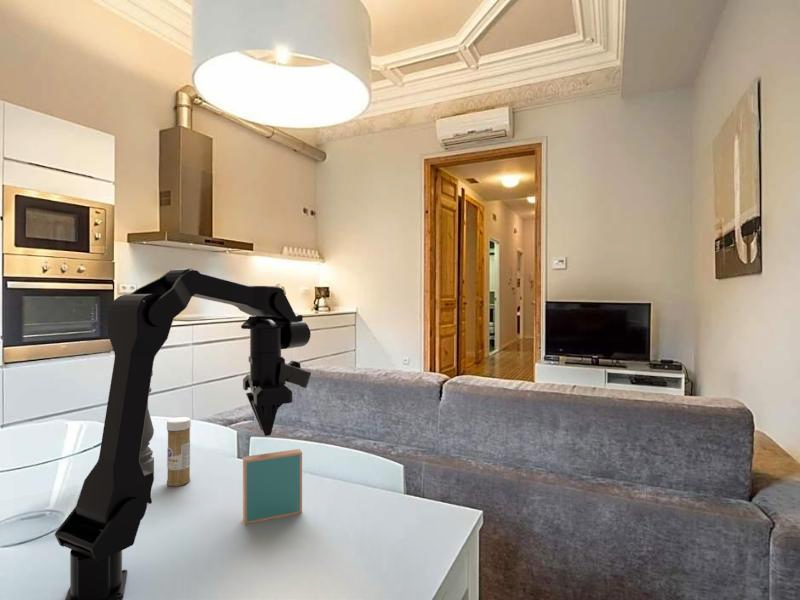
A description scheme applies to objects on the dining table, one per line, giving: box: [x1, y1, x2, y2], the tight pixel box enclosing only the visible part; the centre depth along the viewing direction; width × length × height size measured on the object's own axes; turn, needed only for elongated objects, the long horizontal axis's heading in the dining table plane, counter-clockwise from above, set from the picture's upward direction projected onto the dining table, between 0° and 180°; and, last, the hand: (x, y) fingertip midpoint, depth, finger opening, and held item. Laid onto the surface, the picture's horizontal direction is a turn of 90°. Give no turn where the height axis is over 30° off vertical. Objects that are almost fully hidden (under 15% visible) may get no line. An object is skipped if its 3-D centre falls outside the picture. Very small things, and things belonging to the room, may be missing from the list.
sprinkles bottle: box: [166, 416, 192, 487], centre depth 98 cm, size 5×5×14 cm
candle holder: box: [140, 369, 155, 474], centre depth 101 cm, size 6×6×25 cm
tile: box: [242, 448, 303, 525], centre depth 83 cm, size 2×10×11 cm, turn 116°
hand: (265, 432), depth 89 cm, fingers open, 4 cm apart
